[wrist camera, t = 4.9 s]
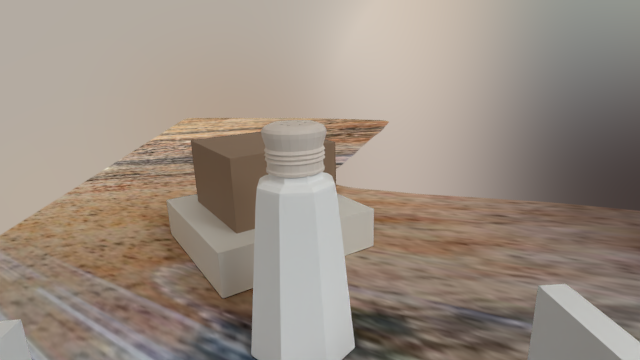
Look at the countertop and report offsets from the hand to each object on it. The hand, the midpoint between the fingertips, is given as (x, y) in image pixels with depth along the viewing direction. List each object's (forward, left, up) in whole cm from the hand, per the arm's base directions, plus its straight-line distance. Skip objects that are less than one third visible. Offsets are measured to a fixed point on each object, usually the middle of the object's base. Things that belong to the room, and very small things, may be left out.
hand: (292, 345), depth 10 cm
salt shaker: (-4, -7, -7) cm, 11 cm away
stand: (-8, -19, -6) cm, 22 cm away
